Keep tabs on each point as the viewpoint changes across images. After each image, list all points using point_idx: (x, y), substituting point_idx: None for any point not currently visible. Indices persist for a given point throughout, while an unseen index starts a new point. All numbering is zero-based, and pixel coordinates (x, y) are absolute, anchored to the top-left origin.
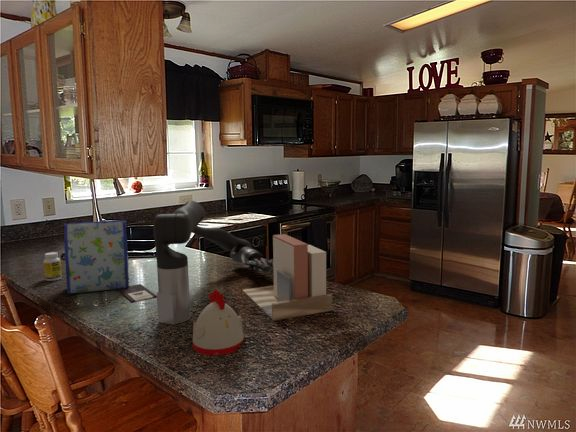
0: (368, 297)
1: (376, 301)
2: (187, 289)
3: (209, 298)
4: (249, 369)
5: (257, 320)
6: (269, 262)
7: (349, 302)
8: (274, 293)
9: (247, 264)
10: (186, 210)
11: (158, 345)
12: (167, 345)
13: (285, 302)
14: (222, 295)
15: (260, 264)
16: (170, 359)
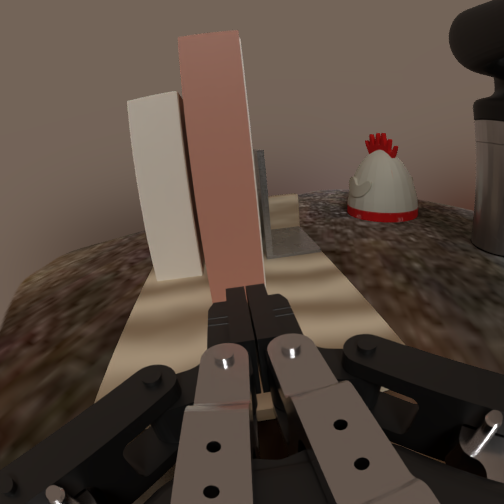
0: (41, 285)
1: (54, 272)
2: (476, 174)
3: (397, 150)
4: (335, 197)
5: (330, 238)
6: (150, 373)
7: (92, 274)
8: (264, 280)
9: (495, 389)
10: None
11: (456, 213)
12: (445, 212)
13: (268, 196)
14: (370, 136)
15: (305, 337)
16: (423, 203)
